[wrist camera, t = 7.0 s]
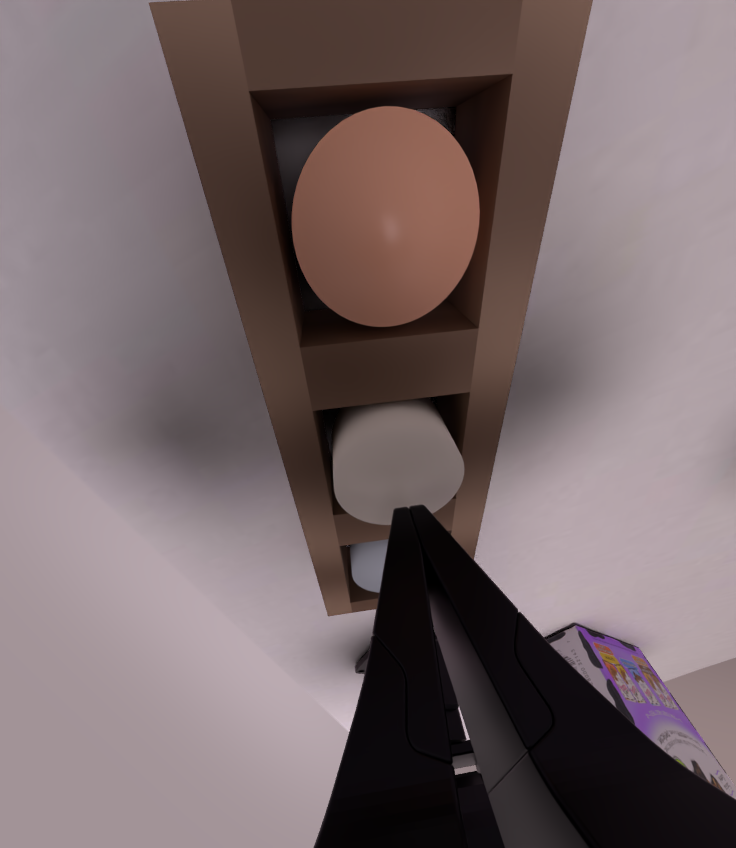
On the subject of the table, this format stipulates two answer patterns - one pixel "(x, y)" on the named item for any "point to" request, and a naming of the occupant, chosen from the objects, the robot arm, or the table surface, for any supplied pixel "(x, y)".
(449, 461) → the button cream
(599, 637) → the candy box
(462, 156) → the button terracotta
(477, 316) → the button panel
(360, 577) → the button grey
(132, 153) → the table surface
